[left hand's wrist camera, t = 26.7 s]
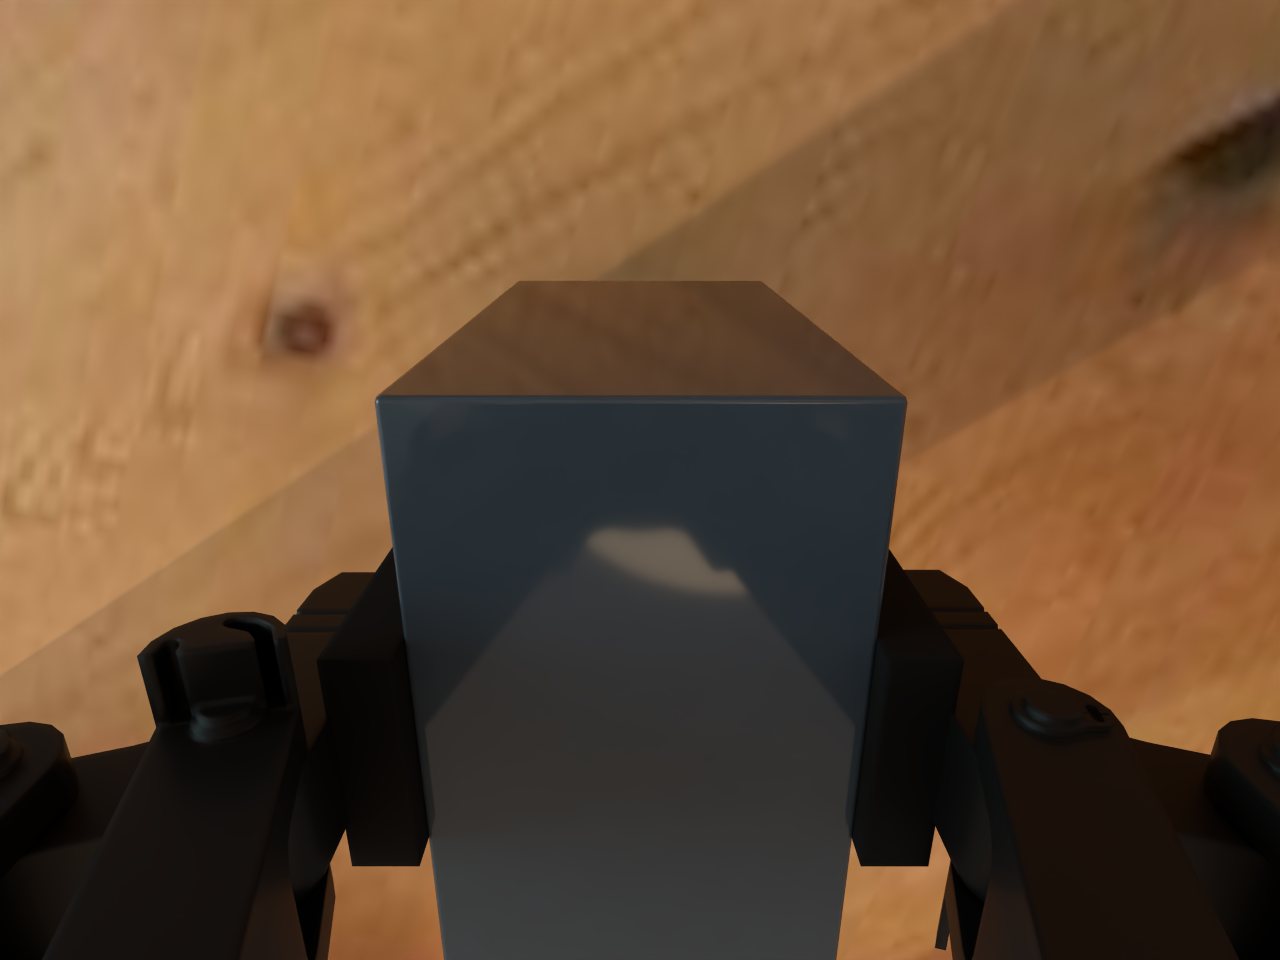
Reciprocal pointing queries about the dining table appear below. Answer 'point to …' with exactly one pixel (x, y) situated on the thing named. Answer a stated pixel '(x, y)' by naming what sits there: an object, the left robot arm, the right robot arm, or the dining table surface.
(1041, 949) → the left robot arm
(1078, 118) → the dining table surface
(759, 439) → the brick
